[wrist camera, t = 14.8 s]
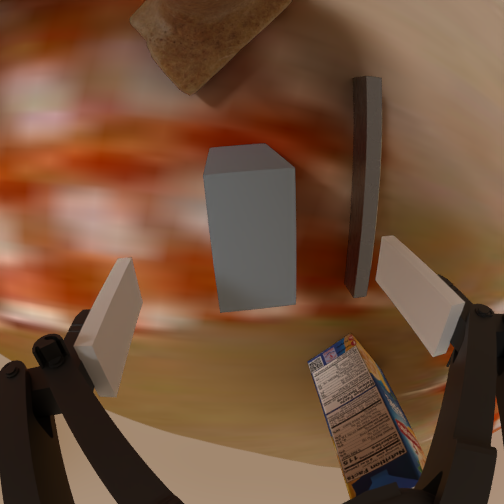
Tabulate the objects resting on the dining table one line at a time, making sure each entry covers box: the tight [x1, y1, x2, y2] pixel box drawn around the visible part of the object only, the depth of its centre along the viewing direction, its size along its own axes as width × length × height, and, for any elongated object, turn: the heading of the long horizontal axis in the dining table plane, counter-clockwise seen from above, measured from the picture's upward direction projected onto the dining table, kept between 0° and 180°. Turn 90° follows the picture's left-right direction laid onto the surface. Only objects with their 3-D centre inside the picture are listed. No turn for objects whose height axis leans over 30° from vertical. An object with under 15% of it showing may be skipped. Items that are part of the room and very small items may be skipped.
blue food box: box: [308, 333, 426, 500], centre depth 32 cm, size 7×11×22 cm, turn 39°
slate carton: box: [203, 143, 296, 313], centre depth 24 cm, size 9×5×12 cm, turn 4°
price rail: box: [344, 76, 382, 298], centre depth 29 cm, size 2×22×3 cm, turn 3°
